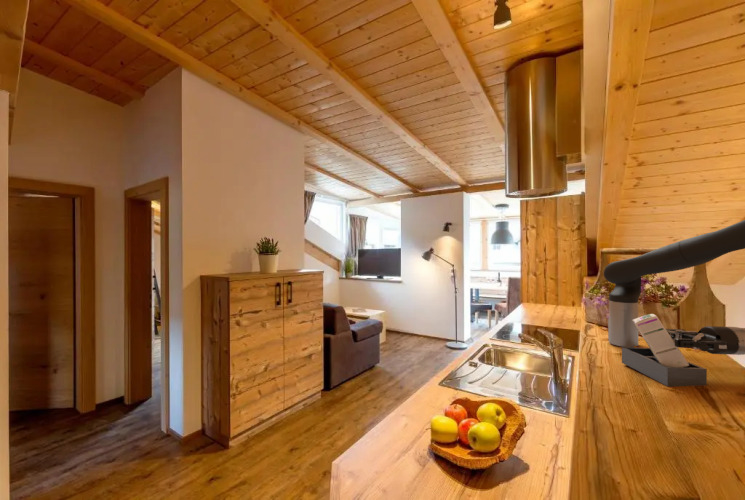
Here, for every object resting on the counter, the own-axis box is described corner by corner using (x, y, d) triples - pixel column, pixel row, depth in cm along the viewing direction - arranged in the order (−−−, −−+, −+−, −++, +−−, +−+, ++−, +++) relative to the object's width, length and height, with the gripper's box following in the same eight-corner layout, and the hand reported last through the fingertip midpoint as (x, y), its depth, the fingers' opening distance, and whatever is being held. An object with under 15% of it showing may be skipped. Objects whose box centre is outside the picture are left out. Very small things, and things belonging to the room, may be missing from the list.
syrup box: (690, 365, 87) (658, 315, 90) (664, 371, 89) (634, 322, 93) (684, 360, 91) (653, 312, 95) (659, 366, 94) (631, 319, 98)
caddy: (621, 362, 105) (621, 347, 105) (653, 363, 104) (653, 348, 104) (667, 386, 87) (667, 367, 87) (706, 387, 86) (706, 369, 86)
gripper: (703, 321, 96) (645, 320, 98) (754, 333, 82) (684, 331, 84) (703, 346, 97) (645, 344, 98) (754, 362, 82) (684, 360, 84)
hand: (663, 338), depth 91 cm, fingers open, 8 cm apart
